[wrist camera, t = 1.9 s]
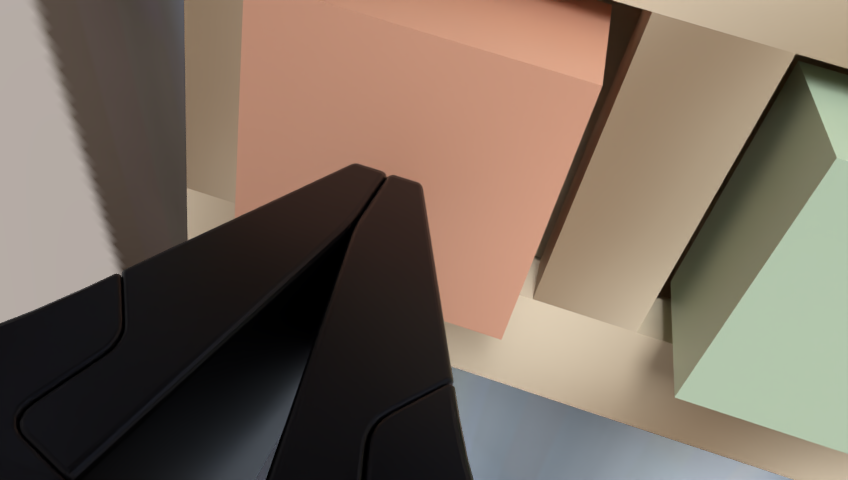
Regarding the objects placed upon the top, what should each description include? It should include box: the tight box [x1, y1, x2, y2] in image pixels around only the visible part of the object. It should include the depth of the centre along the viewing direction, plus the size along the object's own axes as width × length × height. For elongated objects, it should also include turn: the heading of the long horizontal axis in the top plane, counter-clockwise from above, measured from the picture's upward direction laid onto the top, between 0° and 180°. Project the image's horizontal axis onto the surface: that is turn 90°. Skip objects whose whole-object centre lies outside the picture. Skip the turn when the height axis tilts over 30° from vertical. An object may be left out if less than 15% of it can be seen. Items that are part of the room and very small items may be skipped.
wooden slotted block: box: [184, 0, 848, 480], centre depth 11 cm, size 20×9×4 cm, turn 78°
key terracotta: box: [235, 0, 612, 340], centre depth 10 cm, size 4×4×2 cm
